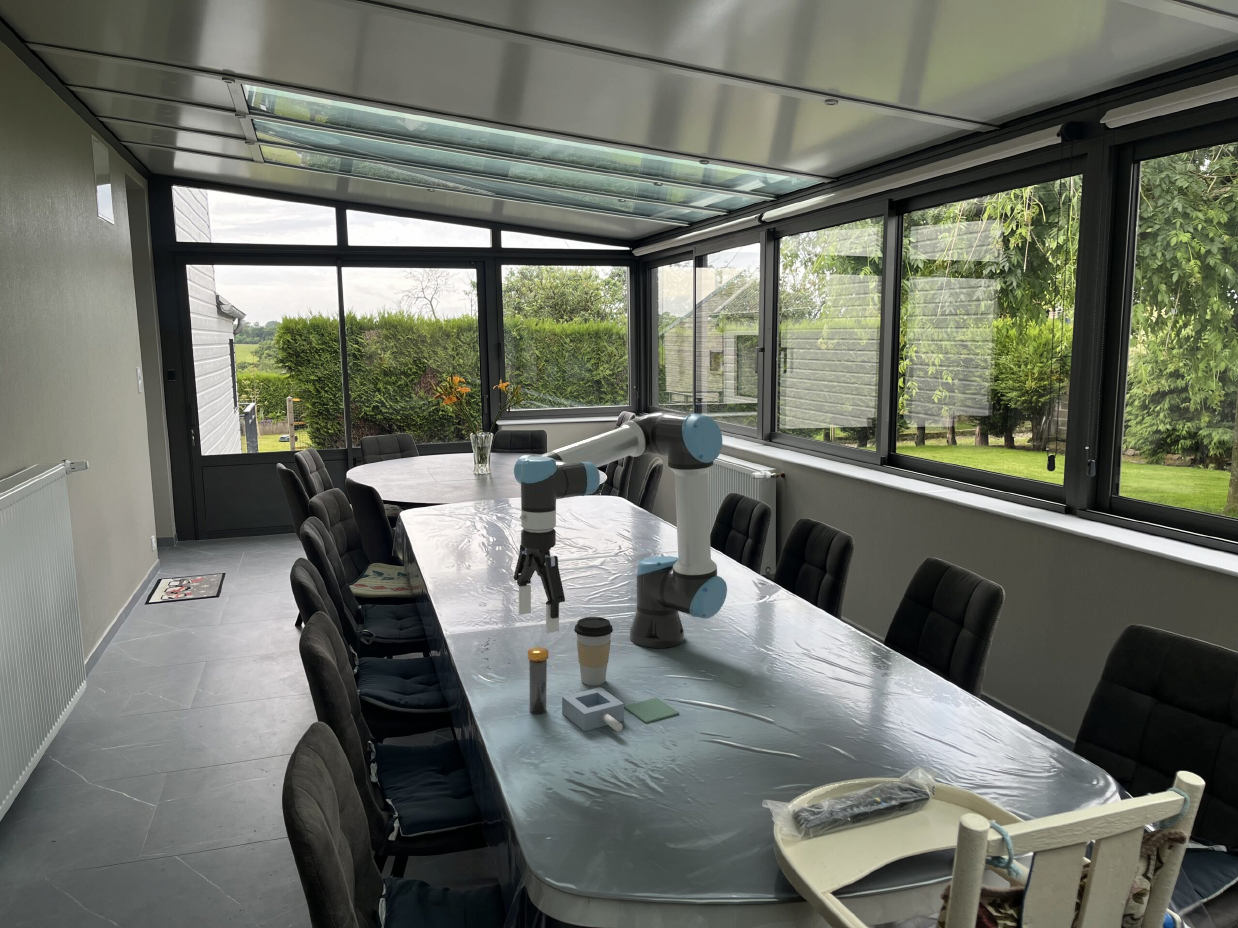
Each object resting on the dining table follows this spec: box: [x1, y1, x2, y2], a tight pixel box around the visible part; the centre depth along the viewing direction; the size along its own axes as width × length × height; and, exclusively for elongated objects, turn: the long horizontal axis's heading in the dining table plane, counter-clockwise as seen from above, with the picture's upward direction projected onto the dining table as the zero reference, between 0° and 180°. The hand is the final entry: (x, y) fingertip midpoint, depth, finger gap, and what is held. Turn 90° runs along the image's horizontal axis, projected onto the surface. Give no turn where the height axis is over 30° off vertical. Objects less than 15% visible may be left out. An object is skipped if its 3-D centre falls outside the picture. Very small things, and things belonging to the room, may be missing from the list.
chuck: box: [561, 686, 625, 733], centre depth 182 cm, size 16×10×4 cm, turn 32°
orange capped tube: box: [527, 646, 549, 715], centre depth 187 cm, size 5×5×14 cm
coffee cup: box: [573, 616, 614, 686], centre depth 203 cm, size 9×9×15 cm
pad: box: [624, 697, 680, 724], centre depth 188 cm, size 9×9×1 cm
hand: (538, 622), depth 185 cm, fingers open, 13 cm apart
